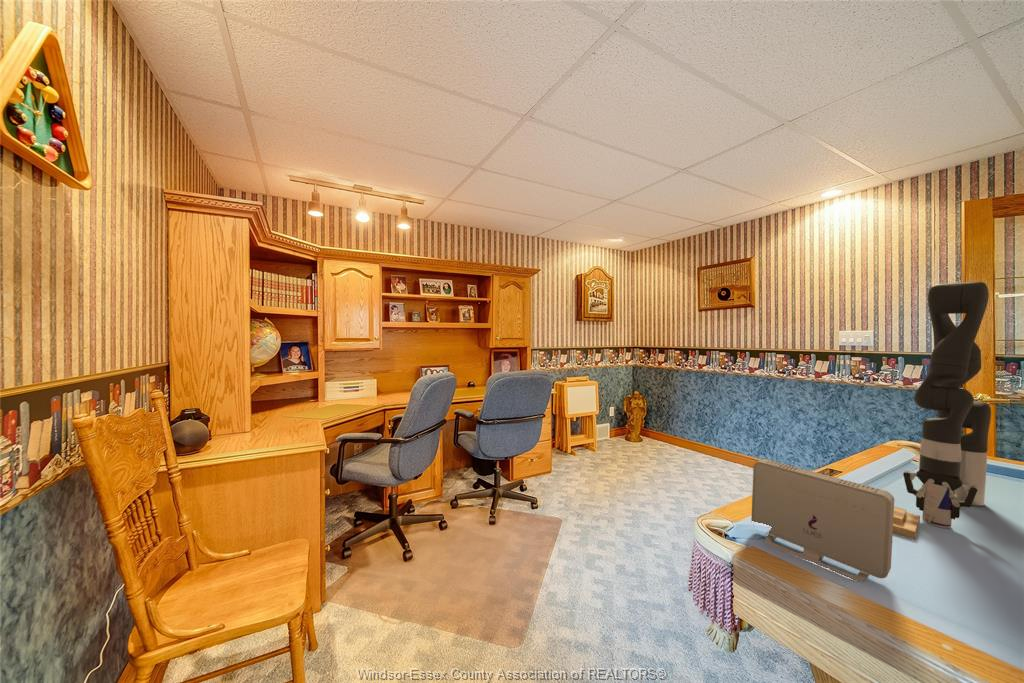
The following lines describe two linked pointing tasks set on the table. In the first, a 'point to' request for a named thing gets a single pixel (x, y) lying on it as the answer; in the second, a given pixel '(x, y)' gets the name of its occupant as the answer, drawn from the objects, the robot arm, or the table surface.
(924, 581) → the table surface
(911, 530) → the plinth
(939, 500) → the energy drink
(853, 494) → the network device
